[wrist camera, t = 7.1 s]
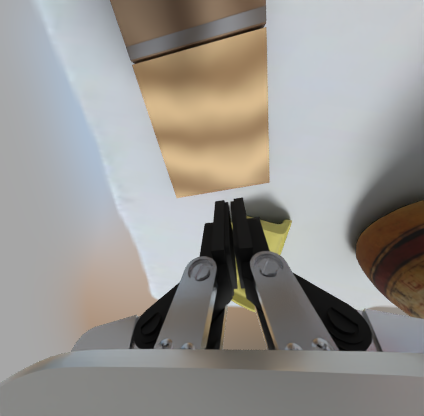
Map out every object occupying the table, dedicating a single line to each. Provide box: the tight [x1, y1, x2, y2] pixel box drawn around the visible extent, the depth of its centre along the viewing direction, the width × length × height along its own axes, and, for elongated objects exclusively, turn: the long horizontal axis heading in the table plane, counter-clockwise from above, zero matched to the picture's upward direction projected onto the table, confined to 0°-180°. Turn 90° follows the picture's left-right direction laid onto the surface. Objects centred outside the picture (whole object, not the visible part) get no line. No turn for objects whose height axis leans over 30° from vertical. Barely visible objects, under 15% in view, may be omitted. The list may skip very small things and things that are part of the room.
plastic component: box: [231, 216, 292, 312], centre depth 32 cm, size 20×7×10 cm
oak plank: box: [132, 27, 269, 198], centre depth 21 cm, size 16×14×2 cm
